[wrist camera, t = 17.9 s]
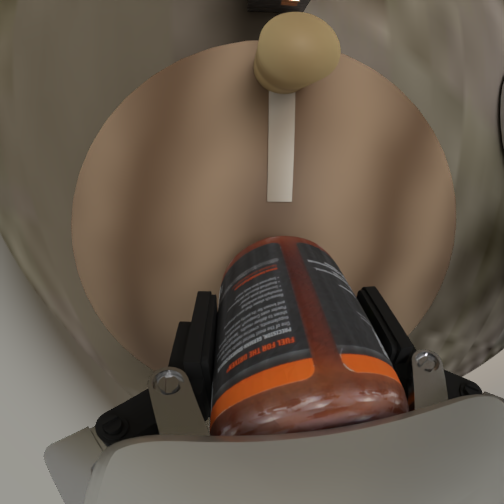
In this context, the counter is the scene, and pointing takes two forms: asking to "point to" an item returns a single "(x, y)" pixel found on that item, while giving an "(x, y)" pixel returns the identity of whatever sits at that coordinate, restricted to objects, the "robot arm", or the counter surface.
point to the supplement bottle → (295, 346)
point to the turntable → (259, 182)
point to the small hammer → (277, 5)
